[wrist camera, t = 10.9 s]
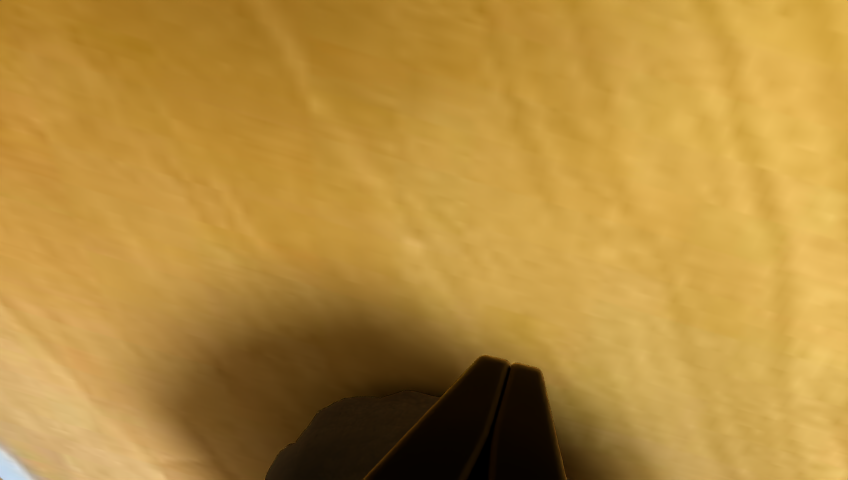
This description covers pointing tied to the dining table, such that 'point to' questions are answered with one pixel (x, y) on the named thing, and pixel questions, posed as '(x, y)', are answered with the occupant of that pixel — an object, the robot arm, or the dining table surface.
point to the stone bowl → (350, 437)
